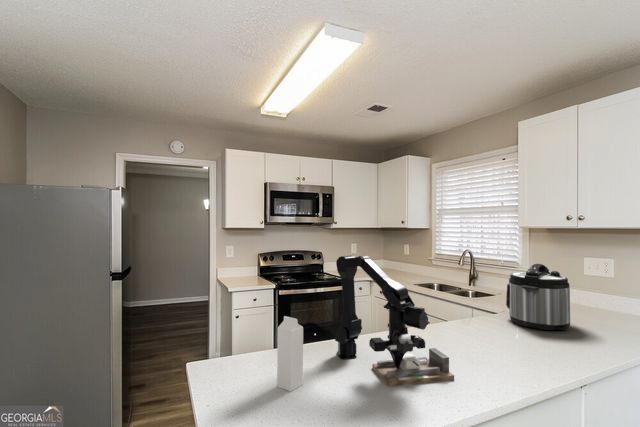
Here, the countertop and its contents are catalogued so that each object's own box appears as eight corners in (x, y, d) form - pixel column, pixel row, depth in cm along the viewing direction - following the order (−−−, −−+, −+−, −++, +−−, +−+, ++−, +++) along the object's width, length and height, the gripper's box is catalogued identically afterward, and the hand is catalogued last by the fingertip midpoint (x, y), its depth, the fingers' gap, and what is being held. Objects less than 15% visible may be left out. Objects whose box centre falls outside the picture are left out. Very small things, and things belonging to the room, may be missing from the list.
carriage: (411, 377, 111) (411, 365, 111) (398, 365, 120) (398, 354, 120) (435, 375, 113) (435, 363, 113) (421, 363, 122) (421, 352, 122)
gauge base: (387, 386, 108) (387, 366, 109) (372, 368, 122) (372, 350, 122) (454, 379, 113) (454, 360, 114) (432, 362, 127) (432, 345, 127)
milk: (289, 379, 113) (289, 313, 114) (303, 384, 110) (303, 316, 110) (276, 386, 108) (277, 317, 109) (290, 392, 105) (291, 321, 105)
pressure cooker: (541, 315, 193) (540, 260, 194) (587, 331, 166) (586, 266, 166) (494, 317, 189) (493, 261, 190) (533, 334, 161) (533, 267, 162)
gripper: (380, 331, 107) (380, 380, 107) (433, 328, 111) (433, 376, 111) (368, 321, 118) (368, 366, 118) (417, 318, 122) (417, 362, 122)
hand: (397, 367), depth 117 cm, fingers closed
